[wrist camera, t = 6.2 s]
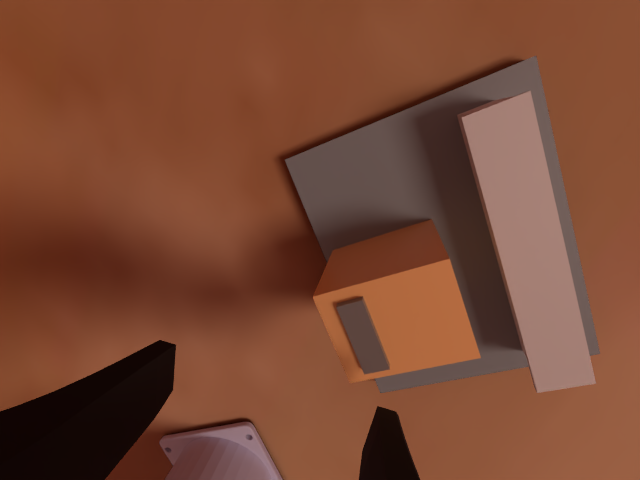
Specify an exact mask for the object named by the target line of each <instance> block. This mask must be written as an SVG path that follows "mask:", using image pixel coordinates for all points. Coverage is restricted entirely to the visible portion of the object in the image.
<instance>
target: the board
mask: <svg viewBox="0 0 640 480" xmlns="http://www.w3.org/2000/svg"><path fill="white" fill-rule="evenodd" d="M285 162H286V164H287V167H288V169H289V172H290V174H291V176H292V179H293V181H294V184H295V186H296V189H297V191H298V194H299V196H300V198H301V201H302V203H303V206H304V208H305V211H306V213H307V215H308V218H309V220H310V223H311V225H312V228H313V230H314V232H315V235H316V237H317V240H318V242H319V245H320V247H321V249H322V252H323V254H324V257H325V259H326V262H328V260H329V258H330V256H331V253H332V251H333V250H335V249H338V248H341V247H345V246H348V245H351V244H354V243H357V242H360V241H364V240H367V239H370V238H373V237H376V236H379V235H383V234H386V233H389V232H392V231H395V230H398V229H402V228H405V227H408V226H411V225H414V224H418V223H421V222H424V221H427V220H430V219H432V220H433V223H434V225H435V227H436V229H437V232H438V234H439V236H440V238H441V240H442V243H443V245H444V247H445V249H446V252H447V254H448V256H449V258H450V261H451V264H452V268H453V271H454V274H455V277H456V280H457V283H458V287H459V290H460V293H461V296H462V299H463V302H464V306H465V309H466V312H467V315H468V318H469V321H470V325H471V328H472V331H473V334H474V337H475V340H476V344H477V347H478V350H479V353H480V356H481V358H478V359H473V360H468V361H463V362H458V363H453V364H447V365H442V366H437V367H432V368H427V369H421V370H416V371H411V372H406V373H401V374H395V375H390V376H385V377H380V378H375V381H376V383H377V386H378V388H379V390H380V393H384V392H389V391H395V390H400V389H406V388H412V387H417V386H423V385H428V384H434V383H440V382H445V381H451V380H456V379H462V378H468V377H473V376H479V375H484V374H490V373H496V372H501V371H507V370H512V369H518V368H524V367H529V369H530V373H531V376H532V380H533V383H534V387H535V389H536V391H537V393H539V392H546V391H552V390H558V389H565V388H571V387H577V386H584V385H590V384H596V381H595V377H594V373H593V368H592V364H591V359H590V356H591V355H596V354H600V351H599V346H598V342H597V337H596V332H595V328H594V323H593V318H592V314H591V309H590V304H589V300H588V295H587V290H586V286H585V281H584V276H583V272H582V267H581V262H580V258H579V253H578V248H577V244H576V239H575V234H574V230H573V225H572V220H571V216H570V211H569V207H568V202H567V197H566V193H565V188H564V183H563V179H562V174H561V169H560V165H559V160H558V155H557V151H556V146H555V141H554V137H553V132H552V127H551V123H550V118H549V113H548V109H547V104H546V99H545V95H544V90H543V85H542V81H541V76H540V71H539V67H538V62H537V57H536V56H534V57H532V58H529V59H527V60H524V61H522V62H519V63H517V64H515V65H512V66H510V67H507V68H505V69H503V70H500V71H498V72H495V73H493V74H491V75H488V76H486V77H483V78H481V79H478V80H476V81H474V82H471V83H469V84H466V85H464V86H462V87H459V88H457V89H454V90H452V91H449V92H447V93H445V94H442V95H440V96H437V97H435V98H433V99H430V100H428V101H425V102H423V103H421V104H418V105H416V106H413V107H411V108H408V109H406V110H404V111H401V112H399V113H396V114H394V115H392V116H389V117H387V118H384V119H382V120H379V121H377V122H375V123H372V124H370V125H367V126H365V127H363V128H360V129H358V130H355V131H353V132H351V133H348V134H346V135H343V136H341V137H338V138H336V139H334V140H331V141H329V142H326V143H324V144H322V145H319V146H317V147H314V148H312V149H310V150H307V151H305V152H302V153H300V154H297V155H295V156H293V157H290V158H288V159H285Z"/></svg>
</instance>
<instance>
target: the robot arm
mask: <svg viewBox="0 0 640 480" xmlns="http://www.w3.org/2000/svg"><path fill="white" fill-rule="evenodd" d="M175 350H176V345H175V344H171V343H168V342H165V341H162V340H159V341H157V342H155V343H153V344H151V345H149V346H147V347H145V348H143V349H141V350H139V351H137V352H135V353H134V354H132V355H130V356H128V357H126V358H124V359H122V360H120V361H118V362H116V363H114V364H112V365H110V366H108V367H106V368H104V369H102V370H100V371H98V372H96V373H94V374H91V375H89V376H87V377H85V378H83V379H81V380H78V381H76V382H74V383H72V384H70V385H67V386H65V387H63V388H61V389H58V390H56V391H54V392H51V393H49V394H46V395H44V396H41V397H39V398H36V399H34V400H31V401H28V402H26V403H23V404H21V405H18V406H15V407H12V408H10V409H6V410H3V411H0V480H105V479H106V477H107V476H108V475H109V474H110V472H111V471H112V470H113V469H114V468H115V466H116V465H117V464H118V463H119V461H120V460H121V459H122V458H123V457H124V455H125V454H126V453H127V452H128V450H129V449H130V448H131V447H132V446H133V444H134V443H135V442H136V441H137V440H138V438H139V437H140V436H141V435H142V433H143V432H144V431H145V430H146V428H147V427H148V426H149V425H150V423H151V422H152V421H153V420H154V418H155V417H156V415H157V414H158V412H159V411H160V409H161V408H162V406H163V405H164V403H165V402H166V400H167V399H168V397H169V395H170V394H171V392H172V391H173V381H174V365H175ZM159 444H160V446H161V448H162V449H163V451H164V452H165V454H166V456H167V457H168V459H169V460H170V462H171V464H172V465H173V467H172V468H171V470H170V472H169V473H168V475H167V476H166V478H165V480H283V479H282V477H281V476H280V474H279V472H278V470H277V468H276V466H275V464H274V462H273V461H272V459H271V457H270V455H269V453H268V451H267V449H266V448H265V446H264V444H263V442H262V440H261V438H260V436H259V434H258V433H257V431H256V429H255V427H254V425H253V424H252V423H250V422H241V423H235V424H229V425H224V426H218V427H212V428H206V429H201V430H195V431H189V432H183V433H178V434H172V435H166V436H163V437H162V438H161V440H160V441H159ZM359 480H420V478H419V475H418V473H417V470H416V468H415V465H414V462H413V460H412V457H411V454H410V451H409V448H408V445H407V443H406V440H405V437H404V433H403V430H402V427H401V424H400V420H399V416H398V414H397V413H396V412H395V411H392V410H389V409H385V408H382V407H379V406H377V409H376V412H375V415H374V418H373V421H372V424H371V427H370V430H369V433H368V436H367V439H366V442H365V445H364V448H363V451H362V459H361V466H360V475H359Z"/></svg>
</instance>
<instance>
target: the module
mask: <svg viewBox="0 0 640 480" xmlns="http://www.w3.org/2000/svg"><path fill="white" fill-rule="evenodd" d="M313 299H314V301H315V304H316V306H317V308H318V311H319V313H320V315H321V318H322V320H323V322H324V325H325V327H326V329H327V331H328V334H329V336H330V338H331V341H332V343H333V345H334V348H335V350H336V352H337V354H338V357H339V359H340V361H341V364H342V366H343V368H344V371H345V373H346V375H347V377H348V380H349V382H350V383H354V382H359V381H364V380H369V379H375V378H380V377H385V376H390V375H395V374H401V373H406V372H411V371H416V370H421V369H427V368H432V367H437V366H442V365H447V364H453V363H458V362H463V361H468V360H473V359H478V358H481V356H480V353H479V350H478V347H477V344H476V340H475V337H474V334H473V331H472V328H471V325H470V321H469V318H468V315H467V312H466V309H465V306H464V302H463V299H462V296H461V293H460V290H459V287H458V283H457V280H456V277H455V274H454V271H453V268H452V264H451V261H450V258H449V256H448V254H447V252H446V249H445V247H444V245H443V243H442V240H441V238H440V236H439V234H438V232H437V229H436V227H435V225H434V223H433V220H432V219H430V220H427V221H424V222H421V223H418V224H414V225H411V226H408V227H405V228H402V229H398V230H395V231H392V232H389V233H386V234H383V235H379V236H376V237H373V238H370V239H367V240H364V241H360V242H357V243H354V244H351V245H348V246H345V247H341V248H338V249H335V250H333V251H332V253H331V256H330V258H329V260H328V262H327V265H326V267H325V269H324V272H323V274H322V276H321V279H320V281H319V283H318V285H317V288H316V290H315V292H314V295H313Z"/></svg>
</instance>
